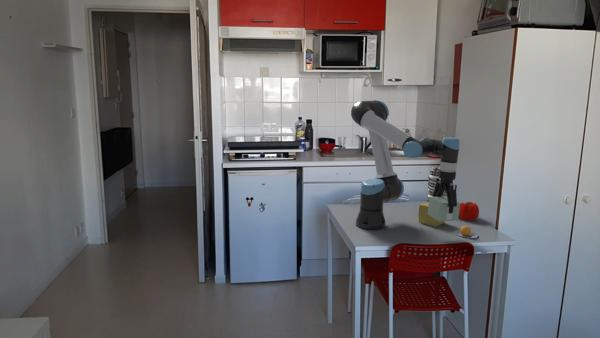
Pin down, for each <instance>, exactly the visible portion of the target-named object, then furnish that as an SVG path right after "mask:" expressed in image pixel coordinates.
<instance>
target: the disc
mask: <svg viewBox="0 0 600 338" xmlns="http://www.w3.org/2000/svg"><path fill="white" fill-rule="evenodd" d="M474 234H476V233H475V232H472V231H471V234H470V235H468V236H464V235H462V234H461V232H460V231H459V232H457V233H456V235H457V236H458V237H461V238H463V237H464V238H463V239H467V238H470V239H469V240H472V239H471V237H472V236H475V235H474Z"/></svg>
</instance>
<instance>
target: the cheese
mask: <svg viewBox="0 0 600 338" xmlns="http://www.w3.org/2000/svg"><path fill="white" fill-rule="evenodd" d="M428 206H429V203H427V202H424V203H420V204H419V206H418V223H420V224H424V225H427V226H432V227H438V226H441V225H442V224H445V221H437V220H436V219H434V218H433V217H431V216H429V215H428Z"/></svg>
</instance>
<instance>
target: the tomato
mask: <svg viewBox="0 0 600 338" xmlns="http://www.w3.org/2000/svg"><path fill="white" fill-rule="evenodd" d="M479 215H480V208H479V206H478V204H477V203H475V202H471V201H466V202H465V203H464V202H460V208H459V216H458V218H460V219H461V220H463V221H473V220H477V219H478V218H479Z"/></svg>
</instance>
